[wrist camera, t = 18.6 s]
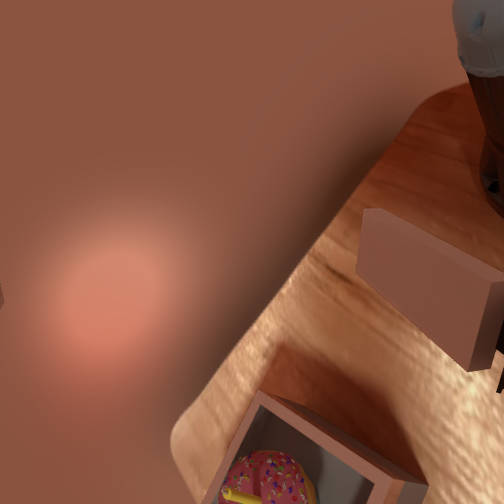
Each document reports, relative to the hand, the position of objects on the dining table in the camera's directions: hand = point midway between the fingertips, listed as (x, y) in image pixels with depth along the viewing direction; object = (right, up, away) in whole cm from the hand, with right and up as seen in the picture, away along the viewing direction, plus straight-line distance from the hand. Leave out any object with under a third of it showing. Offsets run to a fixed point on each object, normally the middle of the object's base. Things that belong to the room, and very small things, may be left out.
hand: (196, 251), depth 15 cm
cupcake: (+6, -22, +20) cm, 30 cm away
